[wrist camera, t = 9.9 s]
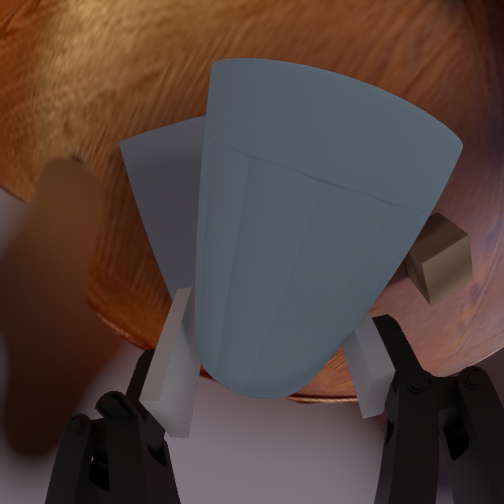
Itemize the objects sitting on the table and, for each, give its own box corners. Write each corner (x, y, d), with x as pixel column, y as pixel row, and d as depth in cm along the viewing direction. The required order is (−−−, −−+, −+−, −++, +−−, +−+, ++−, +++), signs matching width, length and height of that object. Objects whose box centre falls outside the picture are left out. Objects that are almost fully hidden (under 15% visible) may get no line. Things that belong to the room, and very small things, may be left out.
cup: (159, 294, 14) (193, 68, 9) (292, 291, 17) (354, 114, 12) (188, 439, 8) (284, 35, 3) (363, 395, 11) (496, 169, 6)
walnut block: (396, 236, 23) (421, 263, 19) (437, 212, 22) (468, 234, 18) (408, 276, 25) (430, 306, 21) (446, 253, 24) (472, 279, 20)
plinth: (132, 137, 20) (118, 141, 17) (350, 94, 18) (362, 93, 16) (192, 320, 28) (188, 337, 26) (363, 293, 26) (371, 309, 24)
